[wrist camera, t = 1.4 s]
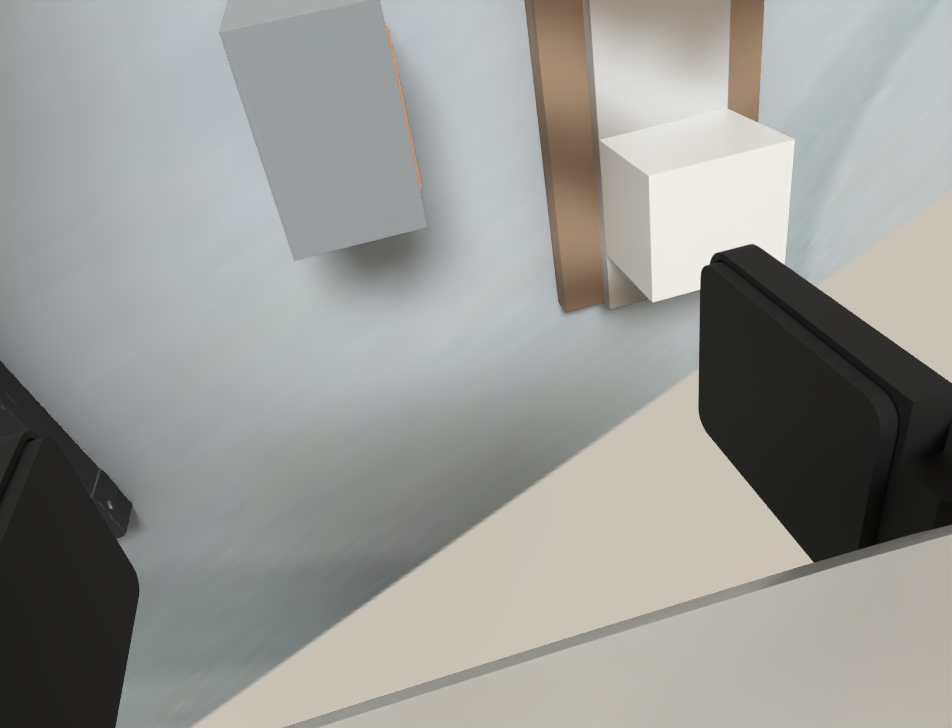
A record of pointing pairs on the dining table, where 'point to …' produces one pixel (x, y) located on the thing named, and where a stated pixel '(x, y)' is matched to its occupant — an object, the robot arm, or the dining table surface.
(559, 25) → the rail board
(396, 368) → the dining table surface
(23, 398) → the disk drive
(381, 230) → the block
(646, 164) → the block
